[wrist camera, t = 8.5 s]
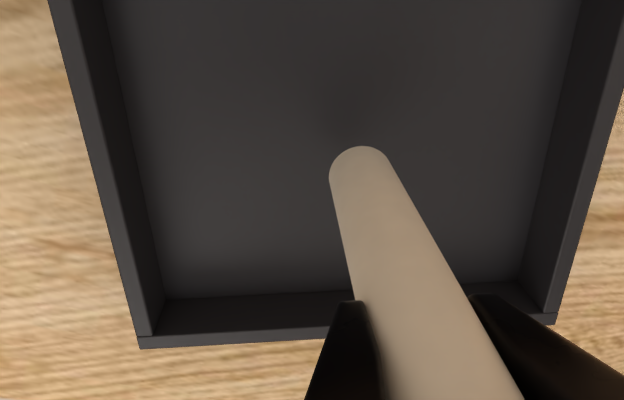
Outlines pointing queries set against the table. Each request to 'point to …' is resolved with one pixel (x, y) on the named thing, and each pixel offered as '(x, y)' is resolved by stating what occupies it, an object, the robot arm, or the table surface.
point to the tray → (335, 146)
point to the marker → (410, 290)
